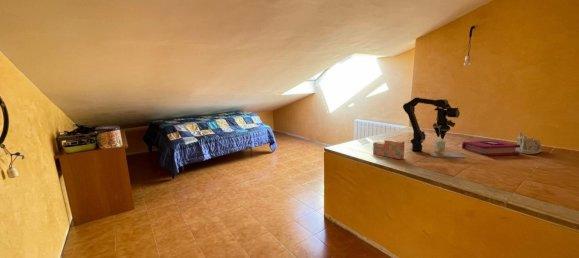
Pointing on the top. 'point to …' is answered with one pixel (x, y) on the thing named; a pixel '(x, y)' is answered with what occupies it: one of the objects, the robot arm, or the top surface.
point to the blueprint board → (447, 155)
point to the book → (491, 148)
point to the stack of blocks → (389, 148)
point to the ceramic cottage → (528, 145)
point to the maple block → (439, 151)
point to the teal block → (440, 144)
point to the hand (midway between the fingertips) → (440, 138)
